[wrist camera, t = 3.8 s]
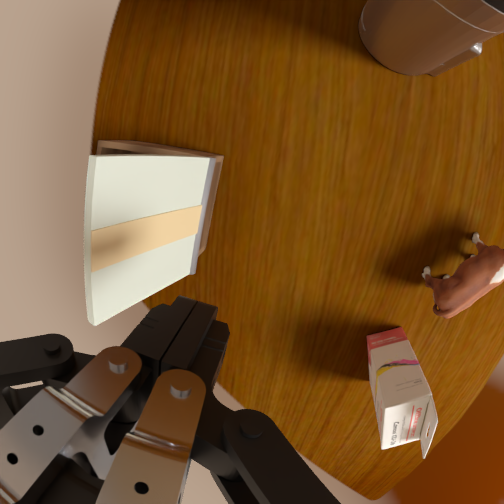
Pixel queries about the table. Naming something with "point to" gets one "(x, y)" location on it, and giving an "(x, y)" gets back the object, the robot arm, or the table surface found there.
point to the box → (158, 149)
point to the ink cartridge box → (399, 391)
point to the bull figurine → (467, 280)
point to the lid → (141, 226)
